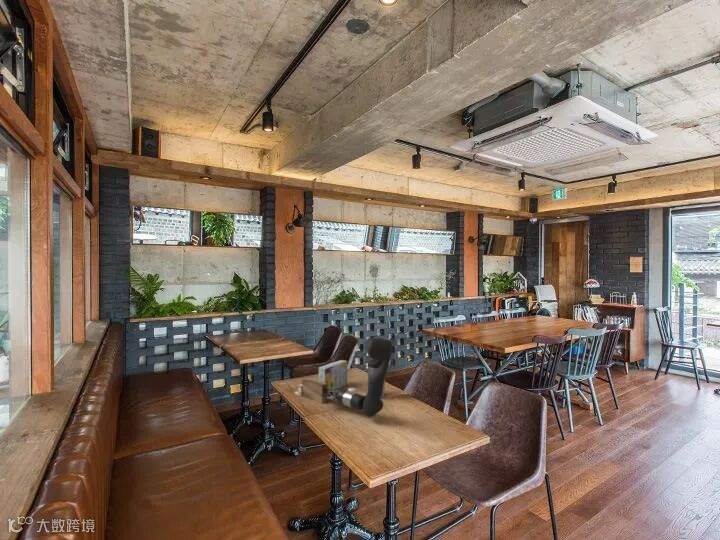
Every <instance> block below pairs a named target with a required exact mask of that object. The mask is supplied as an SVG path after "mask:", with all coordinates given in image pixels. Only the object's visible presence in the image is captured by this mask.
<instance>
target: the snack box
mask: <svg viewBox="0 0 720 540" xmlns="http://www.w3.org/2000/svg"><path fill="white" fill-rule="evenodd" d="M318 381H321V382H324V383H327V389H329V390H331V389H332V390H334V389H342V388H343V387H345V386H348V360H343V359H340V360H337V361H334V362H331V363H328V364H326V365H322V366H319V367H318Z"/></svg>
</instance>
